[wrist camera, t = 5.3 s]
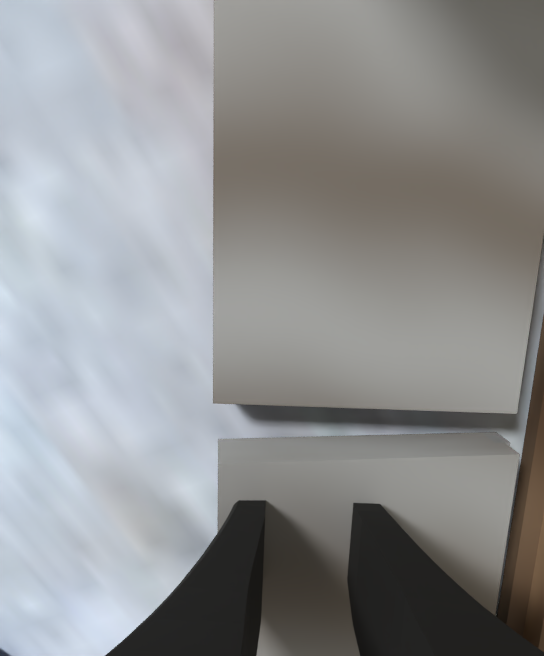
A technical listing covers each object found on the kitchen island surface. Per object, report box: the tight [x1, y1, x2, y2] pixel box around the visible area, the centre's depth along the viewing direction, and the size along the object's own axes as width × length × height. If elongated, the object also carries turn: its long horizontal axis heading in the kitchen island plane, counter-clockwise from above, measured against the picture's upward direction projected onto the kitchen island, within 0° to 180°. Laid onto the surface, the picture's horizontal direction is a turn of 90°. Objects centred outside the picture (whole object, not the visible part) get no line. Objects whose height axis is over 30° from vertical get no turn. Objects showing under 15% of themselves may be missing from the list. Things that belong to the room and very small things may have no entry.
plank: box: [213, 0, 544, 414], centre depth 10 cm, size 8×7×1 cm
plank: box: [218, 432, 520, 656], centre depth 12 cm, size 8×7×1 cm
